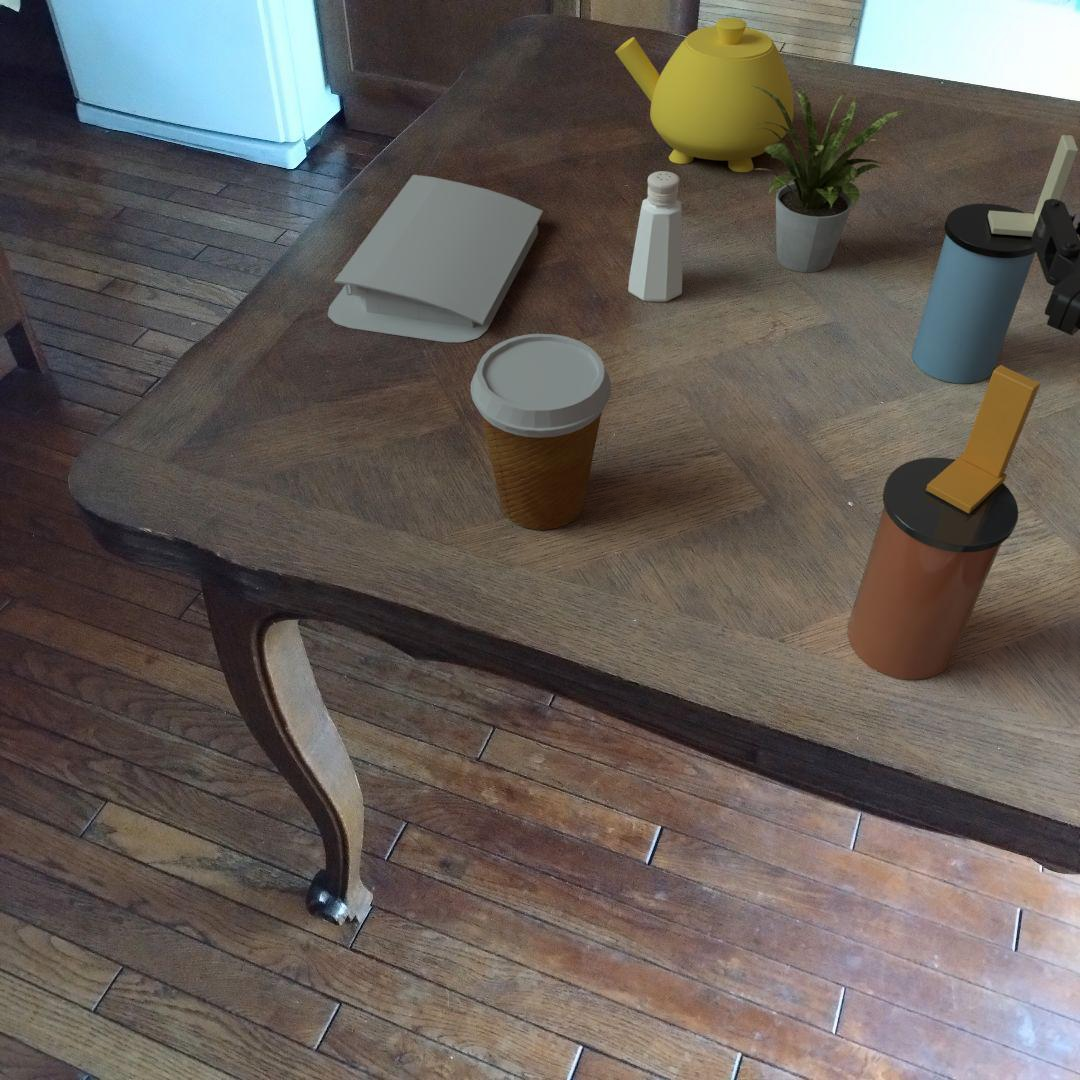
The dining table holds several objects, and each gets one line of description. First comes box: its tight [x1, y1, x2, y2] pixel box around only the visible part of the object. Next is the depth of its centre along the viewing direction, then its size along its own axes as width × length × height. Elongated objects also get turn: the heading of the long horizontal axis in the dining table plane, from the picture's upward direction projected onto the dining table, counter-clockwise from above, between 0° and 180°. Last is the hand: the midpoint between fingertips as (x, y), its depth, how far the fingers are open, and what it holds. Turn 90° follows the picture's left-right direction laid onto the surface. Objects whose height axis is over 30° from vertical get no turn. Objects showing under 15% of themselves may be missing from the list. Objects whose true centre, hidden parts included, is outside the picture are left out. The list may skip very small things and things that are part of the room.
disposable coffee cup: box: [470, 333, 612, 531], centre depth 75 cm, size 10×10×12 cm
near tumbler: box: [847, 456, 1019, 681], centre depth 65 cm, size 7×7×13 cm
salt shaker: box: [627, 170, 683, 303], centre depth 96 cm, size 5×5×11 cm
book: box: [327, 174, 544, 344], centre depth 101 cm, size 15×23×4 cm, turn 165°
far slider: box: [988, 134, 1079, 237], centre depth 80 cm, size 4×3×7 cm
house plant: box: [751, 85, 908, 273], centre depth 97 cm, size 14×14×16 cm
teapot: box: [614, 17, 795, 173], centre depth 115 cm, size 20×16×14 cm
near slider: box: [926, 364, 1041, 514], centre depth 59 cm, size 4×3×7 cm
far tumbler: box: [911, 203, 1037, 385], centre depth 87 cm, size 7×7×13 cm
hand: (1064, 316), depth 58 cm, fingers closed
